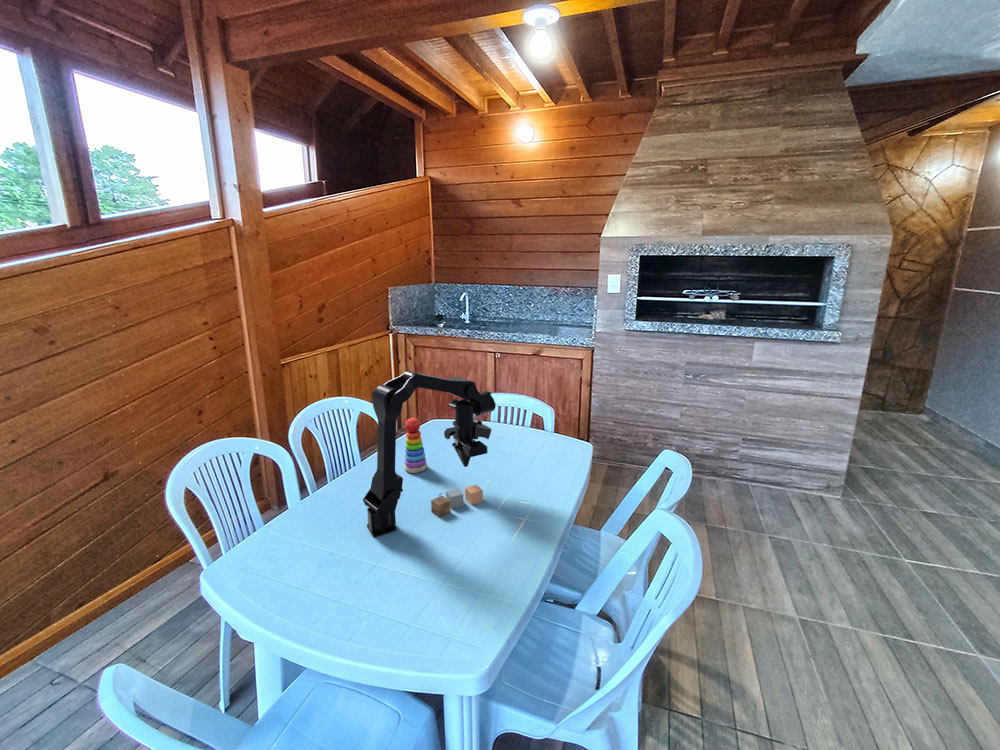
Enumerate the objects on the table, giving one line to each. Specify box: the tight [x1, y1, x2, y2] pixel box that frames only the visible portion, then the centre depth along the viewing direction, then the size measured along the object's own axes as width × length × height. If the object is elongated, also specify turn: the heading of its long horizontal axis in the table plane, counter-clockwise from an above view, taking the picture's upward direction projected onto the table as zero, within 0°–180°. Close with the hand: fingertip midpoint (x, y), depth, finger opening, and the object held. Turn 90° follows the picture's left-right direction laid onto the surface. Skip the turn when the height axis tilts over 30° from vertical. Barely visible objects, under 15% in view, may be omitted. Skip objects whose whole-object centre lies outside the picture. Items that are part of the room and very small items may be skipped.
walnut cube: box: [430, 495, 452, 518], centre depth 139 cm, size 4×4×4 cm
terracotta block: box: [464, 484, 484, 506], centre depth 145 cm, size 4×4×4 cm
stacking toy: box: [403, 417, 428, 474], centre depth 165 cm, size 8×8×19 cm
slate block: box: [445, 488, 465, 510], centre depth 143 cm, size 4×4×4 cm
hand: (465, 466), depth 148 cm, fingers closed
